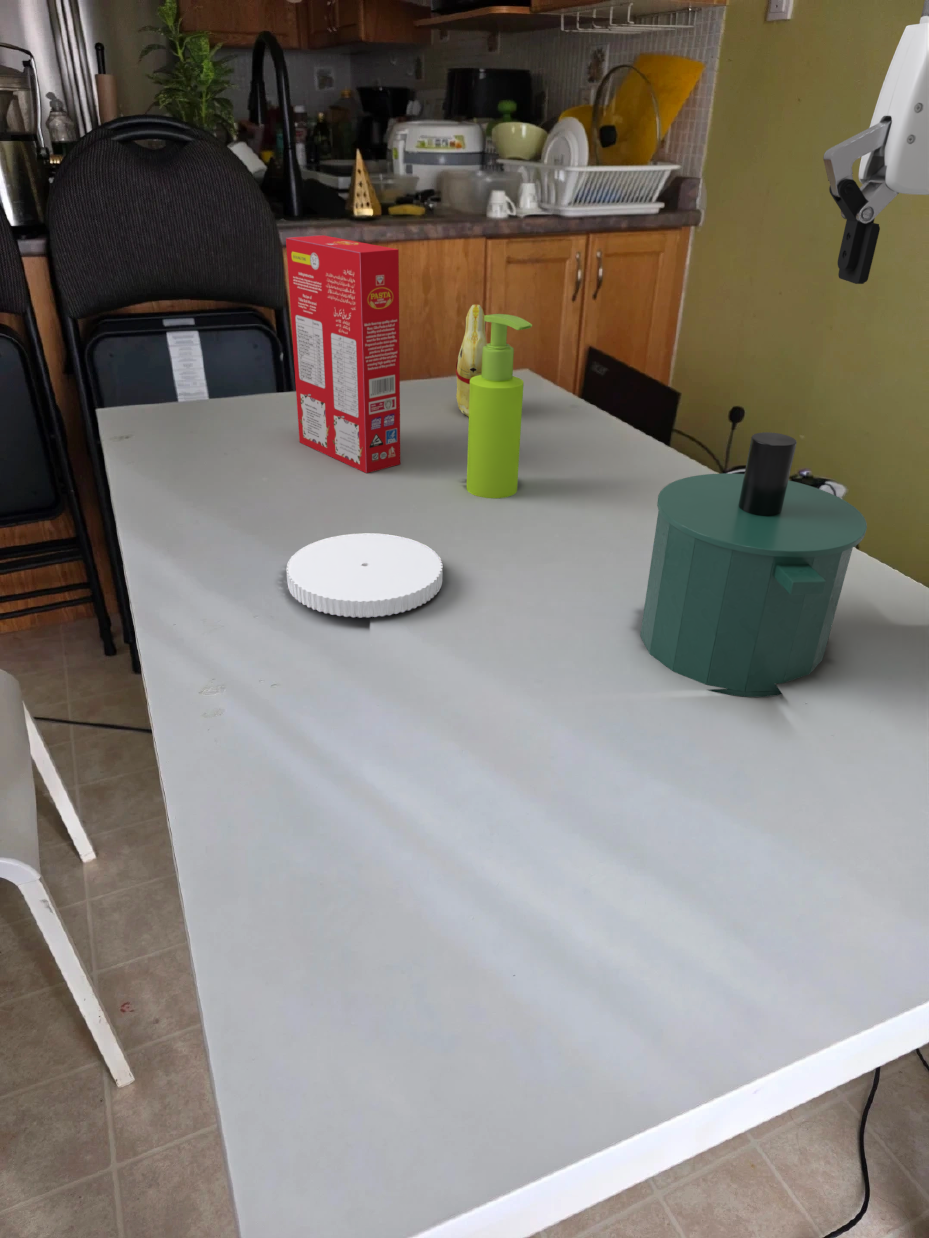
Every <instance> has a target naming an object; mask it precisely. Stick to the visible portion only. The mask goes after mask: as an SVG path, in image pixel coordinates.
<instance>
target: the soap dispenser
mask: <svg viewBox="0 0 929 1238" xmlns="http://www.w3.org/2000/svg"><path fill="white" fill-rule="evenodd" d="M484 321H485V323H486V322H487V323H490V324H491V325H490V326H491V327H490V342H489V343H488V342H487V345H486V346H484V347H483V350H482V375H478V376H475V377H472V378H471V379H470V393H469V417H468V424H467V425H468V427H467V428H468V429H467V430H468V431H467V456H466V457H467V458H466V459H467V460H466V462H467V463H466V491H467V492H468V493H469V494H471V495H473V496H475V497H479V498H483V499H505V498H510V497H512V496H513V495H516V493H517V492H518V481H519V480H518V479H519V468H520V467H519V466H520V465H519V464H520V448H521V434H522V433H521V432H522V416H523V401H524V386H525V385H524V384H525V382H524V380H523V379H522V378H520V377H518V376H514V375H513V374H514V355H515V354H514V353H515V349H514V347H513V346H511V345H510V344H509V343H507V340H508V339H507V338H508V327H510V328H512V329H514V330H516V331H522V330H528V329H531V328H532V327H533V324H532V323H530V322H529V321H527V320H526V319H524V318H522V317H519V316H517V315H512V314H506V313H493V314H486V315H485V314H484Z"/></svg>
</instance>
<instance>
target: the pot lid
mask: <svg viewBox="0 0 929 1238" xmlns="http://www.w3.org/2000/svg"><path fill="white" fill-rule="evenodd" d="M797 443H798V442H797V440H796V439H795V438H794V437H792V436H790V435H787V434H783V433H778V432H770V431H769V432H767V431H766V432H764V431H763V432H757V433H753V434H752V436H751V437H750V443H749V449H748V453H747V459H746V463H745V469H744V473H726V472H725V473H724V472H723V473H708V474H698V475H691V476H687V477H684V478H680V479H677V480H675V481H673V482H670V483H668V484H667V485H666V486H664V487H663V488H662V489H661V490H660V491H659V494H658V496H657V503H656V506H657V510H658V511H659V512H660V514H661V515H662V517H663V518H664V519H665V520H666V521H667V522H668V523H670V524H671V525H672V526H674V527H675V528H677V529H678V530H680V531H682V532H684V533H686V534H688V535H690V536H692V537H694V538H697V539H699V540H701V541H704V542H707V543H710V544H713V545H716V546H720V547H723V548H727V549H731V550H736V551H740V552H745V553H751V554H757V555H766V556H775V557H817V556H825V555H831V554H836V553H840V552H843V551H846V550H848V549H851V548H853V549H854V548H855V547H857V545H859V544H860V543H861V542H862V541H863V539H864V538H865V536H866V532H867V530H868V524H867V520H866V518H865V516H864V515H863V513H862V512H861V511H859V510H858V509H857V508H856V507H855V506H854V505H852V504H851V503H849V502H848V501H846V500H845V499H843V498H842V497H839V496H837V495H835V494H833V493H831V492H828V491H825V490H823V489H820V488H817V487H815V486H811V485H808V484H804V483H801V482H797V481H793V480H789V479H790V475H791V471H792V466H793V462H794V457H795V453H796V448H797Z"/></svg>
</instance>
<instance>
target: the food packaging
mask: <svg viewBox="0 0 929 1238" xmlns="http://www.w3.org/2000/svg"><path fill="white" fill-rule="evenodd" d="M285 245H286V247H285V248H286V261H287V275H288V290H289V291H288V293H289V306H290V320H291V322H290V323H291V335H292V337H291V338H292V350H293V351H292V352H293V364H294V365H293V366H294V382H295V395H296V397H295V398H296V409H297V425H298V426H297V427H298V440H299V441H298V442H299V443H300V444H302V445H304V446H306V447H309V448H311V449H313V450H315V451H317V452H320V453H322V454H324V455H326V456H328V457H329V458H333V459H335V460H337V461H339V462H342V463H344V464H346V465H348V466H350V467H352V468H354V469H357V470H358V471H361V472H363V473H365V474H369V473H372V472H376V471H380V470H384V469H388V468H391V467H395V466H399V465H401V387H400V386H401V376H400V375H401V367H400V365H401V364H400V362H401V361H400V355H401V354H400V353H401V352H400V258H399V257H400V250H399V249H398V248H393V247H387V246H382V245H377V244H371V243H366V242H361V241H356V240H350V239H346V238H339V237H334V236H330V235H324V234H323V235H322V234H321V235H308V236H293V237H292V236H291V237H285Z"/></svg>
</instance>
